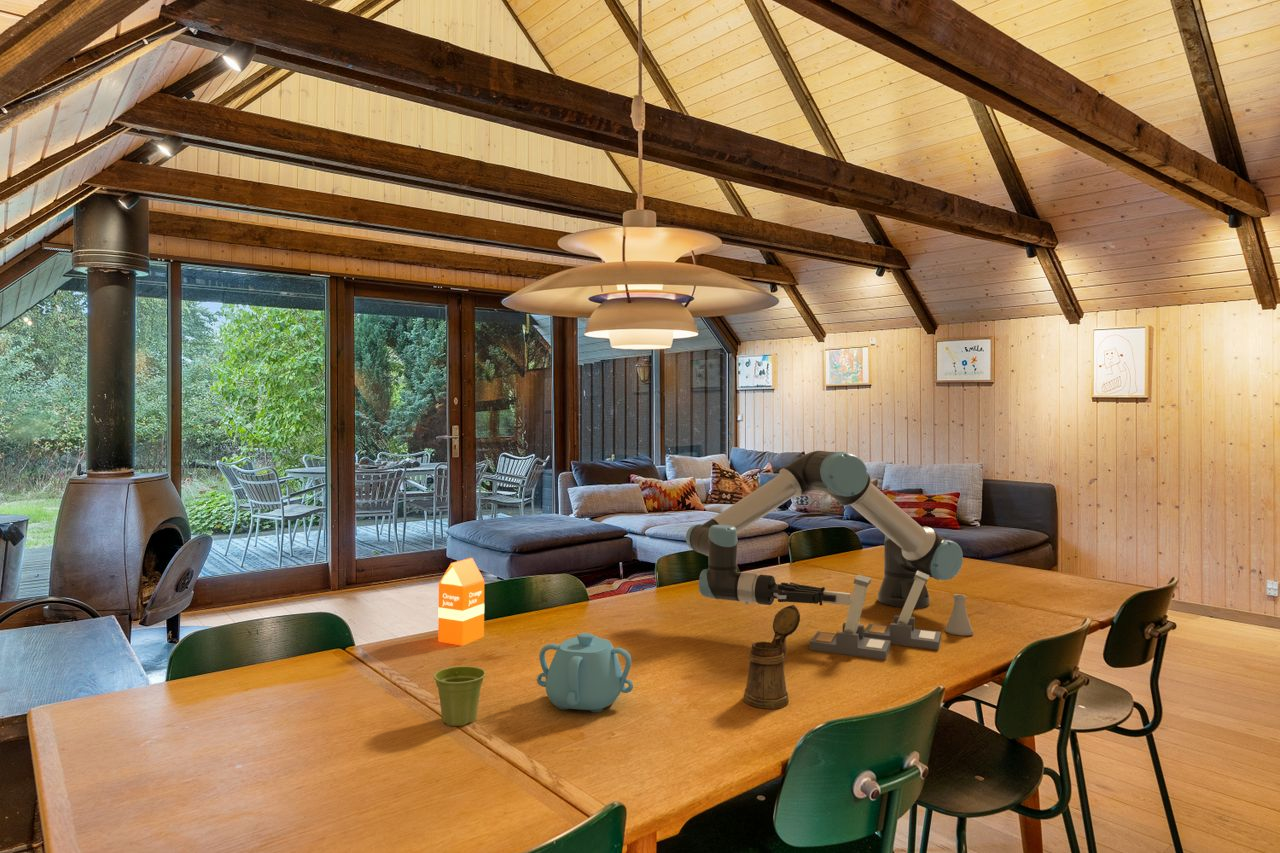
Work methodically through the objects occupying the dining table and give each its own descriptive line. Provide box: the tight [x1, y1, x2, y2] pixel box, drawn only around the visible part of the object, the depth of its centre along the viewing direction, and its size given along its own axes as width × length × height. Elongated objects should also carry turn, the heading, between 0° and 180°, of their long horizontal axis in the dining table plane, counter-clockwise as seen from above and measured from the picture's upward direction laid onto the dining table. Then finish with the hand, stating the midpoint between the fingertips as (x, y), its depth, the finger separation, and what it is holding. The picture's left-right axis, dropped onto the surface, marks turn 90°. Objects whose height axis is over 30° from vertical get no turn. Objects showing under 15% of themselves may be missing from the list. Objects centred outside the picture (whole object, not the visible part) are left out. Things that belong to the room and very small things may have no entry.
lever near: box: [844, 574, 872, 633], centre depth 188 cm, size 3×6×15 cm, turn 155°
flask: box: [944, 593, 974, 637], centre depth 204 cm, size 7×7×10 cm
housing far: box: [864, 614, 942, 651], centre depth 197 cm, size 18×10×5 cm, turn 65°
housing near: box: [809, 622, 892, 661], centre depth 189 cm, size 18×10×5 cm, turn 65°
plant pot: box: [433, 665, 487, 727], centre depth 142 cm, size 9×9×9 cm
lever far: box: [897, 570, 930, 625], centre depth 196 cm, size 3×6×15 cm, turn 155°
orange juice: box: [437, 557, 485, 647], centre depth 193 cm, size 8×9×20 cm
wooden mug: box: [743, 604, 801, 710], centre depth 155 cm, size 9×14×18 cm, turn 132°
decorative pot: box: [536, 632, 634, 713], centre depth 151 cm, size 16×16×14 cm
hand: (850, 599), depth 188 cm, fingers closed
